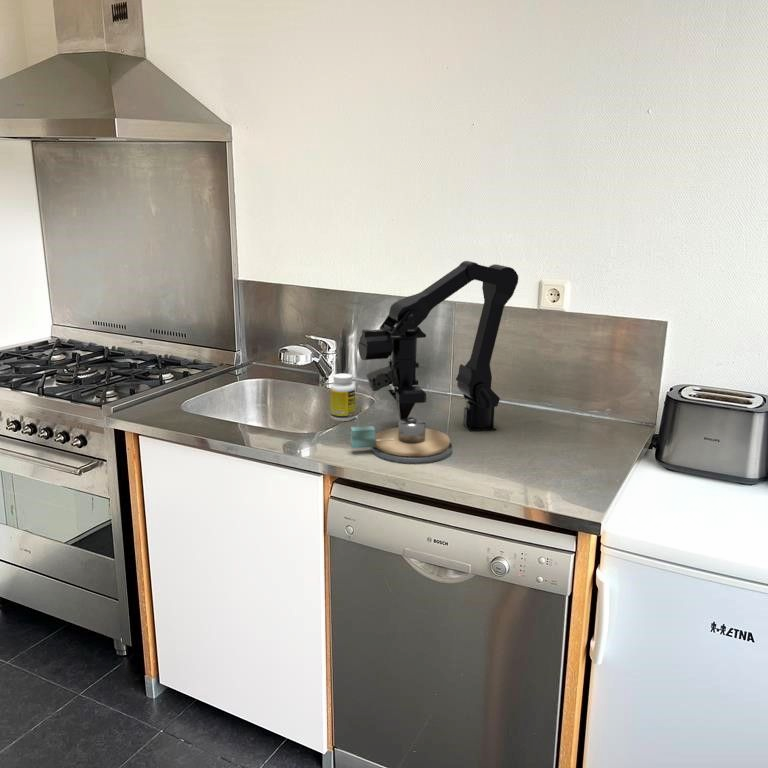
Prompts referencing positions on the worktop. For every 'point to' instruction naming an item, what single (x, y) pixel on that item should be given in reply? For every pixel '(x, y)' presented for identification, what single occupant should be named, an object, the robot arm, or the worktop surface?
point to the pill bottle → (342, 398)
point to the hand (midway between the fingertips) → (403, 421)
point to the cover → (411, 430)
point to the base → (412, 459)
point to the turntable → (399, 442)
